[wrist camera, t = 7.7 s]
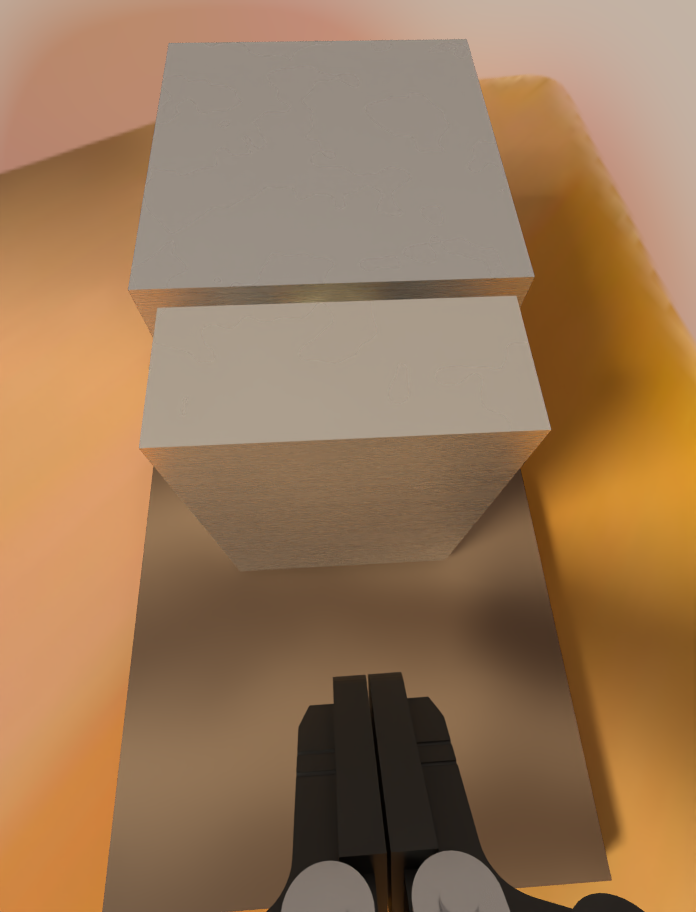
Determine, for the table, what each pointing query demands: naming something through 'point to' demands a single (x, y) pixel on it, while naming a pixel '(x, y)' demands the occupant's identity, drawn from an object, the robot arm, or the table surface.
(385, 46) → the bearing block
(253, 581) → the base plate
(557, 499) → the table surface
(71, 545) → the table surface
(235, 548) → the brushed metal slider block
